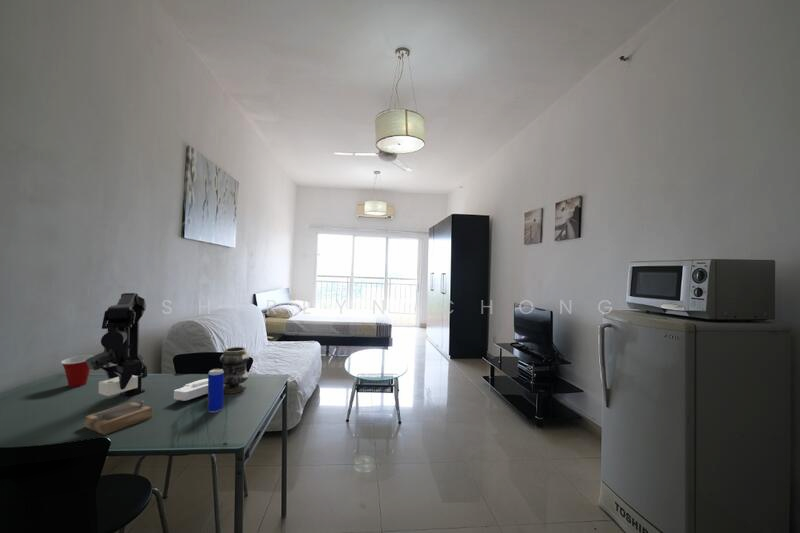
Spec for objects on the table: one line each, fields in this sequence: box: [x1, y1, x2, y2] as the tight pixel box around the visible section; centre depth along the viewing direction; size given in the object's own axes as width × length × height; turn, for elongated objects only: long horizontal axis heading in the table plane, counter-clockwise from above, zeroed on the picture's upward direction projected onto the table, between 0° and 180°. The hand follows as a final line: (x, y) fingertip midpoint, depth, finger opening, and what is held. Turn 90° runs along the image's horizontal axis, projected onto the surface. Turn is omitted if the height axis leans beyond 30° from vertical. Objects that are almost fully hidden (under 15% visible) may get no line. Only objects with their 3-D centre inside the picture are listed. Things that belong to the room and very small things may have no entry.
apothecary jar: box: [219, 346, 250, 394], centre depth 150 cm, size 12×12×18 cm
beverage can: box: [207, 368, 225, 413], centre depth 129 cm, size 5×5×15 cm
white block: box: [98, 375, 138, 397], centre depth 119 cm, size 6×9×4 cm, turn 156°
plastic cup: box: [60, 354, 94, 388], centre depth 152 cm, size 11×11×12 cm
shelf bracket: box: [173, 377, 227, 402], centre depth 147 cm, size 6×25×13 cm
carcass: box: [84, 400, 153, 436], centre depth 118 cm, size 12×14×5 cm
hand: (117, 387), depth 119 cm, fingers closed on white block, 5 cm apart
